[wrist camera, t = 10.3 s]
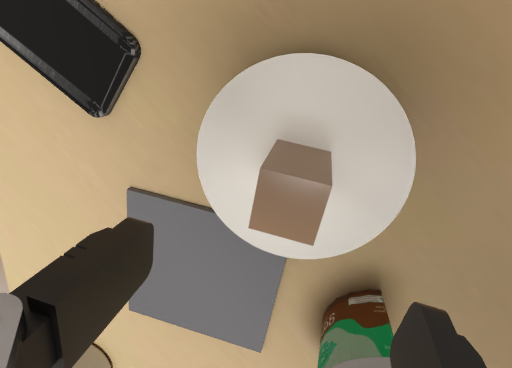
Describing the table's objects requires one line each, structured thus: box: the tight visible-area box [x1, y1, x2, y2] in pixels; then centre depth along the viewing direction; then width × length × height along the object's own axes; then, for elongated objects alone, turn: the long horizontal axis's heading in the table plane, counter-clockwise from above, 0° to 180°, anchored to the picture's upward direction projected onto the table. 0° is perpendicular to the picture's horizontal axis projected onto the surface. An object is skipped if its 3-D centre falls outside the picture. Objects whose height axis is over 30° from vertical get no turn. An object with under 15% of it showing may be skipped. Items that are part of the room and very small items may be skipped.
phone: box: [0, 0, 141, 117], centre depth 24 cm, size 8×1×15 cm
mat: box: [127, 187, 286, 353], centre depth 31 cm, size 16×16×1 cm
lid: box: [197, 53, 416, 259], centre depth 16 cm, size 13×13×6 cm
